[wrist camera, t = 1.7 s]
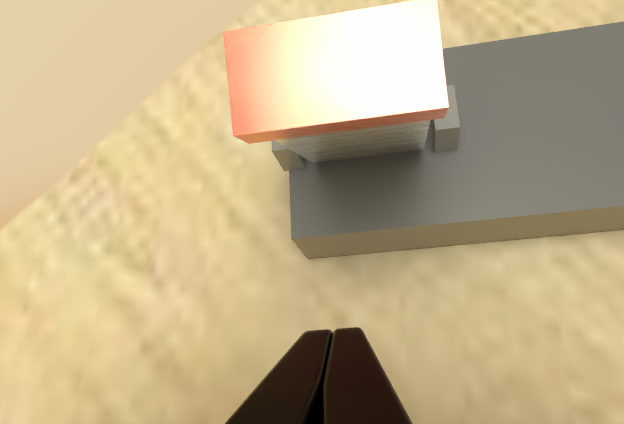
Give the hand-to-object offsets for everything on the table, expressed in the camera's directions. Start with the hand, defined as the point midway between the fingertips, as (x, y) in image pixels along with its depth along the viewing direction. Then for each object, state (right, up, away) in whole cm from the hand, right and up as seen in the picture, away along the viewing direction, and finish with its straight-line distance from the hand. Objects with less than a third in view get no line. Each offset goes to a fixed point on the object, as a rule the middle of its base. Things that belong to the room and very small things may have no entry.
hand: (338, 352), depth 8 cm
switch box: (+9, +5, +14) cm, 17 cm away
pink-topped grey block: (+2, +5, +12) cm, 13 cm away
